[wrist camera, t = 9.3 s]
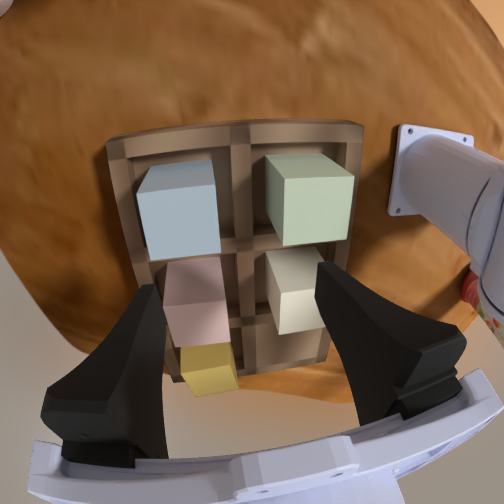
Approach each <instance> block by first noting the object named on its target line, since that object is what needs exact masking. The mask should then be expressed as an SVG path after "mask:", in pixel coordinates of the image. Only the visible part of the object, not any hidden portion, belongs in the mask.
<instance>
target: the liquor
mask: <svg viewBox="0 0 504 504" xmlns="http://www.w3.org/2000/svg"><path fill="white" fill-rule="evenodd" d="M478 279H479V277H478V276H477V275H476V274H475V273H474V272H473V271H472V270H471V269H470V270H469V271H468V272H467V274H466V275H465V277H464V280H463V284H462V294H461V297H462V300H463V301H464V302H467V303H470V304H471V305H472V307H473V308H474V309H475V310H476V312H477V313H478V314H479V315H480V316H481V318H482V319H483V320H484V322H485V323H486V324H487V325H488V327H489V328H490V329H491V331H492V332H493V334H494V335H495V337H496V338H497V339H498V341H499V342H500V344H501V345H502V347H503V348H504V325H503V324H501V323H499V322H498V321H497V320H495V319H494V318H493V317H492V316H491V315H490V314H489V313H488V312H487V310H486V309H485V308H484V306H483V305H482V303H481V301H480V299H479V296H478V292H477V283H478Z"/></svg>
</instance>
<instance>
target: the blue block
mask: <svg viewBox="0 0 504 504" xmlns="http://www.w3.org/2000/svg"><path fill="white" fill-rule="evenodd" d="M137 200H138V205H139V210H140V215H141V220H142V225H143V229H144V234H145V238H146V243H147V247H148V251H149V255H150V260H160V259H169V258H178V257H187V256H196V255H206V254H215V253H221V246H220V235H219V224H218V212H217V200H216V187H215V179H214V173H213V166H212V159H208V160H199V161H189V162H181V163H173V164H165V165H157V166H151V167H150V169H149V171H148V172H147V174H146V176H145V178H144V180H143V182H142V184H141V186H140V188H139V190H138V192H137Z"/></svg>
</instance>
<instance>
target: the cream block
mask: <svg viewBox="0 0 504 504" xmlns="http://www.w3.org/2000/svg"><path fill="white" fill-rule="evenodd" d="M318 262H325V261H324V260H323V258H322V257H321V255H320V253H319V252H318V250H317V249H316V247H315V246H311V247H302V248H293V249H284V250H275V251H266V287H265V292H266V295H267V298H268V301H269V305H270V308H271V311H272V314H273V317H274V321H275V324H276V327H277V330H278V334H279V335H282V334H288V333H294V332H300V331H306V330H311V329H317V328H322V327H326V326H325V324H324V322H323V320H322V318H321V316H320V313H319V310H318V307H317V304H316V301H315V298H314V294H315V285H316V275H317V265H318Z"/></svg>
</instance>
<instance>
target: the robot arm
mask: <svg viewBox="0 0 504 504" xmlns="http://www.w3.org/2000/svg"><path fill="white" fill-rule="evenodd" d="M409 128H410V132H409V133H408V129H409ZM463 138H464V140H463ZM473 143H474V138H473V136H471V135H467V134H462V133H457V132H452V131H447V130H441V129H435V128H429V127H423V126H416V125H409V124H401V125H400V126H399V129H398V138H397V147H396V156H395V164H394V171H393V178H392V185H391V191H390V197H389V203H388V209H387V212H388V214H389V215H391V216H402V215H417V214H421V215H422V216H423V217H424V218H426V219H427V220H428V221H429V222H431V223H432V224H433V225H434V226H435V227H437V228H438V229H439V230H440V231H441V232H443V233H444V234H445V235H446V236H447V237H448V238H450V239H451V240H452V241H453V242H454V243H455V244H457V245H458V246H459V247H460V248H461V249H462V250H463V251H464V252H465V253H467V254H468V255H469V256H470V257H471V264H470V269H471V270H472V271H473V272H474V273H475V274H476V275H477V276H478V277H479V279H478V283H477V292H478V296H479V299H480V301H481V303H482V305H483V306H484V308H485V309H486V310H487V312H488V313H489V314H490V315H491V316H492V317H493V318H494V319H495V320H497V321H498V322H499V323H501V324H503V325H504V162H503V161H501V160H499V159H497V158H495V157H493V156H491V155H489V154H487V153H485V152H483V151H481V150H478V149H476V148H474V147H473ZM398 208H399V209H398ZM397 209H398V211H396V210H397ZM314 298H315V301H316V304H317V307H318V310H319V313H320V316H321V318H322V320H323V322H324V324H325V326H326V328H327V330H328V332H329V334H330V336H331V338H332V341H333V343H334V345H335V347H336V349H337V351H338V353H339V355H340V358H341V360H342V363H343V366H344V369H345V372H346V375H347V378H348V381H349V384H350V388H351V391H352V395H353V398H354V402H355V406H356V410H357V414H358V419H359V424H360V427H358V428H355V429H351V430H348V431H345V432H341V433H338V434H334V435H331V436H327V437H323V438H319V439H315V440H311V441H307V442H303V443H298V444H293V445H289V446H284V447H279V448H273V449H268V450H261V451H255V452H248V453H241V454H233V455H225V456H214V457H200V458H182V459H169V457H168V451H167V445H166V437H165V427H164V417H163V403H162V375H163V364H164V354H165V344H166V316H165V313H164V310H163V307H162V303H161V300H160V297H159V294H158V290H157V287H156V283H154V284H145V285H142V286H141V287H140V289H139V290H138V292H137V294H136V295H135V297H134V298H133V300H132V301H131V303H130V304H129V306H128V308H127V309H126V311H125V312H124V314H123V315H122V317H121V318H120V319H119V321H118V322H117V324H116V325H115V326H114V328H113V329H112V330H111V332H110V333H109V334H108V335H107V337H106V338H105V339H104V340H103V341H102V342H101V344H100V345H99V346H98V347H97V348H96V349H95V350H94V351H93V352H92V353H91V354H90V355H89V356H88V357H87V358H86V359H85V360H84V361H83V362H82V363H81V364H79V365H78V366H77V367H76V368H75V369H73V370H72V371H71V372H70V373H68V374H67V375H66V376H64V377H63V378H62V379H60V380H59V381H57V382H56V383H54V384H53V385H51V386H50V387H48V388H47V391H46V394H45V398H44V402H43V406H42V410H41V419H42V421H43V422H44V424H45V425H46V426H47V427H48V428H49V429H51V430H52V431H53V432H54V433H55V434H57V435H58V436H59V437H60V438H62V439H63V445H62V446H60V445H57V444H54V443H49V442H44V441H39V440H35V441H34V444H33V449H32V455H31V462H30V468H29V476H28V485H27V491H28V492H30V493H31V494H33V495H36V496H38V497H40V498H42V499H44V500H46V501H49V502H51V503H53V504H405V502H404V499H403V496H402V494H401V491H400V489H399V486H398V483H397V481H396V480H397V479H399V478H401V477H403V476H405V475H407V474H409V473H411V472H413V471H415V470H417V469H419V468H421V467H422V466H424V465H426V464H428V463H429V462H431V461H433V460H435V459H437V458H438V457H440V456H442V455H444V454H445V453H447V452H448V451H450V450H452V449H453V448H455V447H457V446H458V445H460V444H461V443H463V442H465V441H466V440H468V439H469V438H471V437H472V436H474V435H475V434H477V433H478V432H479V431H480V430H481V429H482V428H484V427H485V426H486V425H487V424H488V423H489V422H490V421H491V420H492V419H493V418H494V417H495V416H497V414H499V412H501V411H502V410H503V409H504V405H503V404H502V402H501V400H500V399H499V397H498V395H497V394H496V392H495V391H494V389H493V388H492V386H491V384H490V383H489V381H488V380H487V378H486V377H485V375H484V374H483V372H482V371H481V369H480V368H478V369H476V370H474V371H472V372H470V373H468V374H467V375H465V376H463V377H462V378H461V379H459V380H457V378H456V377H455V375H456V374H457V370H456V369H455V367H454V366H455V364H456V363H457V361H458V360H459V358H460V357H461V355H462V353H463V351H464V350H465V348H466V344H467V341H466V338H465V337H464V335H463V334H462V333H461V331H460V330H459V329H458V328H457V326H456V325H452V324H448V323H444V322H440V321H436V320H433V319H430V318H427V317H424V316H421V315H419V314H416V313H414V312H411V311H409V310H407V309H404V308H402V307H400V306H398V305H396V304H394V303H392V302H390V301H389V300H387V299H385V298H383V297H381V296H380V295H378V294H377V293H375V292H373V291H372V290H370V289H369V288H367V287H366V286H364V285H363V284H362V283H360V282H359V281H357V280H356V279H355V278H353V277H352V276H350V275H349V274H348V273H346V272H345V271H344V270H342V269H341V268H340V267H338V266H337V265H336V264H334V263H333V262H331V261H325V262H318V265H317V275H316V285H315V294H314Z"/></svg>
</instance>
